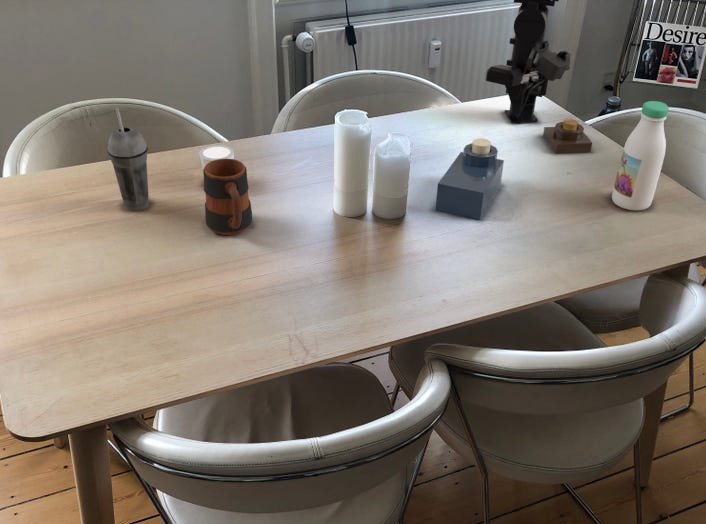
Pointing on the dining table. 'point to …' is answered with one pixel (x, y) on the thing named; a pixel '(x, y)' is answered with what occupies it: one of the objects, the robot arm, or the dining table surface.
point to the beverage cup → (130, 165)
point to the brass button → (570, 124)
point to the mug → (227, 197)
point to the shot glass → (215, 154)
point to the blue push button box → (470, 183)
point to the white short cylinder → (481, 146)
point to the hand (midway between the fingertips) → (517, 114)
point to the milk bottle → (642, 159)
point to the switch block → (567, 139)
